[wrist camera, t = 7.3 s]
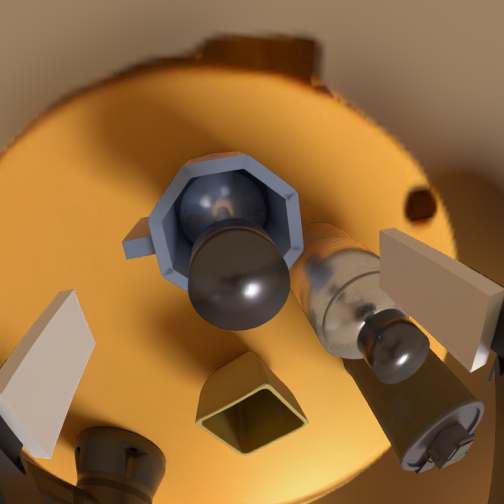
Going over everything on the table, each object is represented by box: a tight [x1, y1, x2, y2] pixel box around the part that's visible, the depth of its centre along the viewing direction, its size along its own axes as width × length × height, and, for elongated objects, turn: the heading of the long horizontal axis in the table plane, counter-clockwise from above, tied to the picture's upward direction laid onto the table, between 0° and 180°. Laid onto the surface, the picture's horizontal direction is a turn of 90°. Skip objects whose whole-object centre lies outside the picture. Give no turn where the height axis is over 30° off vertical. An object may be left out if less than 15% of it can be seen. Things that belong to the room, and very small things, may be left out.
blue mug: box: [122, 151, 304, 292], centre depth 25 cm, size 11×9×12 cm
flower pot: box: [195, 352, 309, 456], centre depth 33 cm, size 9×9×9 cm
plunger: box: [180, 171, 290, 330], centre depth 19 cm, size 7×7×14 cm
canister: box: [344, 348, 484, 473], centre depth 30 cm, size 11×10×20 cm
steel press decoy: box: [289, 223, 430, 384], centre depth 26 cm, size 10×8×18 cm
